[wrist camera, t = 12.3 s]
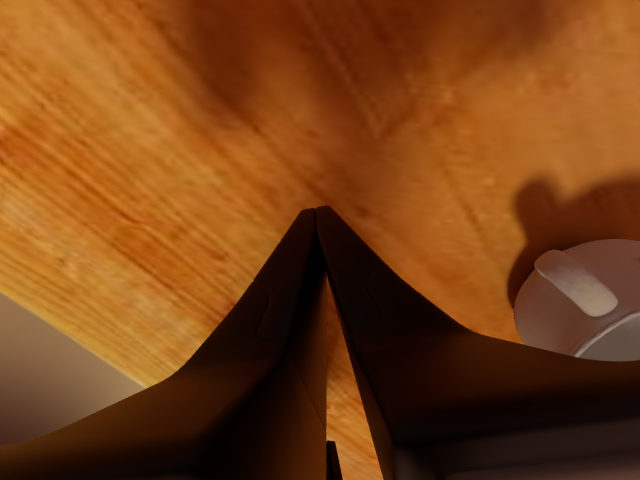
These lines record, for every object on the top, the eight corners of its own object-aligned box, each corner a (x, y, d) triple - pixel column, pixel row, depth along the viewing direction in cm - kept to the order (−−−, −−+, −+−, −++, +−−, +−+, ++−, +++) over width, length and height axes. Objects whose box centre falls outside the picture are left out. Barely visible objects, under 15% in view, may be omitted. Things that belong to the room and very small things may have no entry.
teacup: (653, 291, 25) (794, 376, 17) (523, 356, 27) (599, 452, 20) (598, 154, 19) (765, 194, 12) (446, 252, 22) (511, 331, 15)
